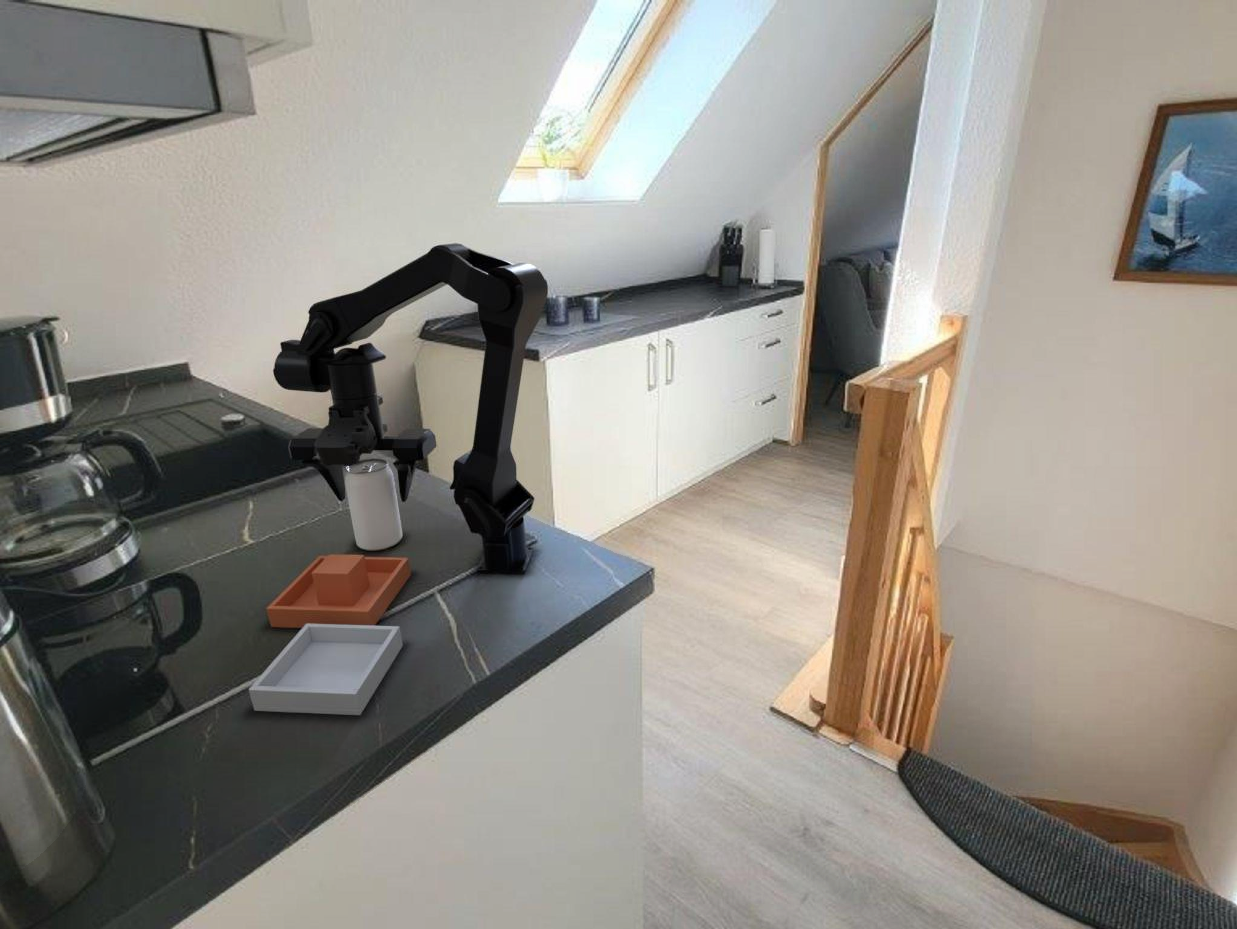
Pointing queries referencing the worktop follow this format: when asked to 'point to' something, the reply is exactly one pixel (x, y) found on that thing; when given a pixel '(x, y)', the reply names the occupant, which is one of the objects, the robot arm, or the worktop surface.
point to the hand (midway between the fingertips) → (373, 500)
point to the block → (341, 579)
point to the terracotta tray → (303, 607)
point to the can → (373, 504)
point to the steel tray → (327, 669)
